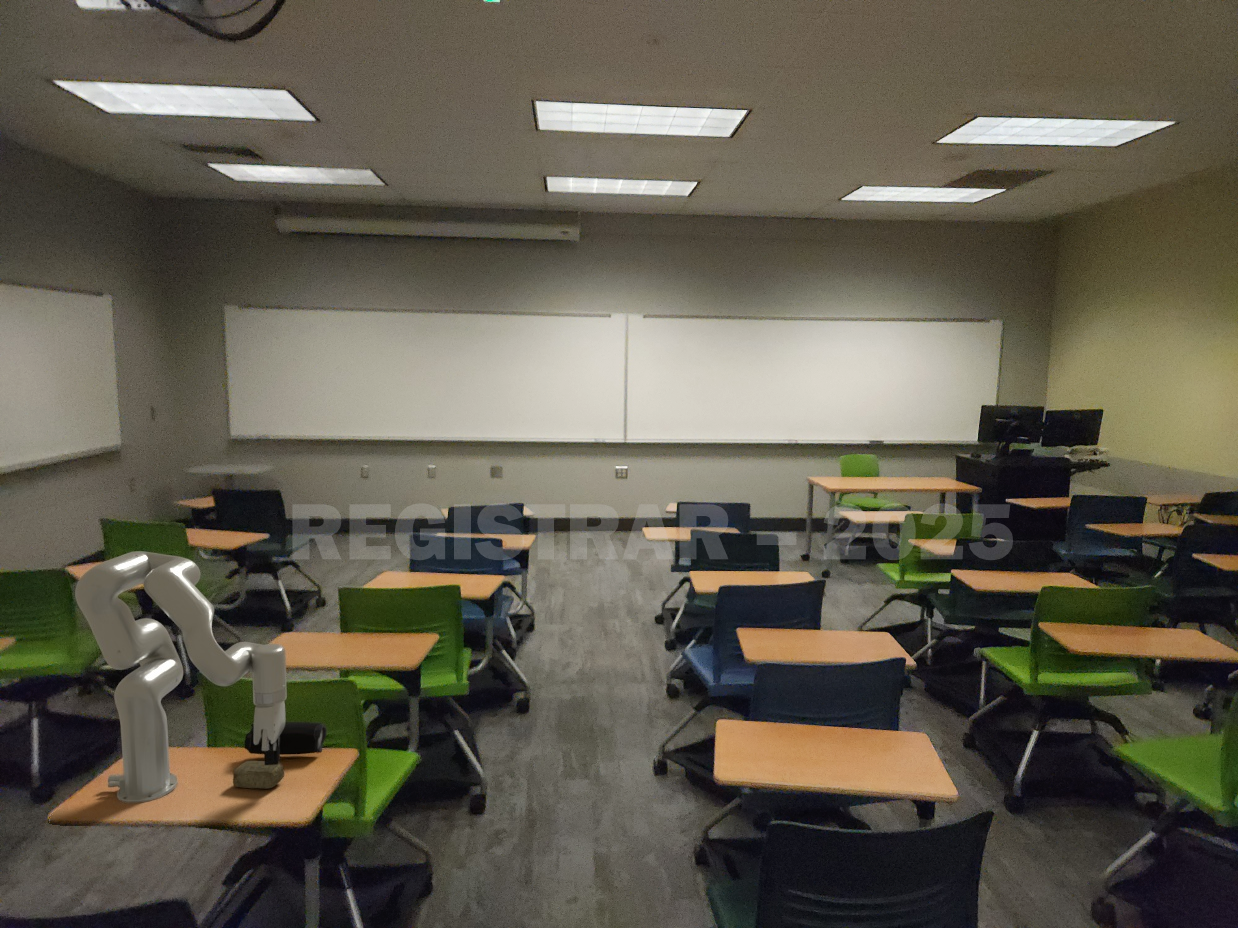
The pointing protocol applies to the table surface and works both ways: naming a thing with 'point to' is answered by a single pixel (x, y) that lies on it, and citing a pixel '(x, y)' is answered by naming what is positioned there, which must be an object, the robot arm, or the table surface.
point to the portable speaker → (293, 739)
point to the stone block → (257, 775)
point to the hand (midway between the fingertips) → (272, 762)
